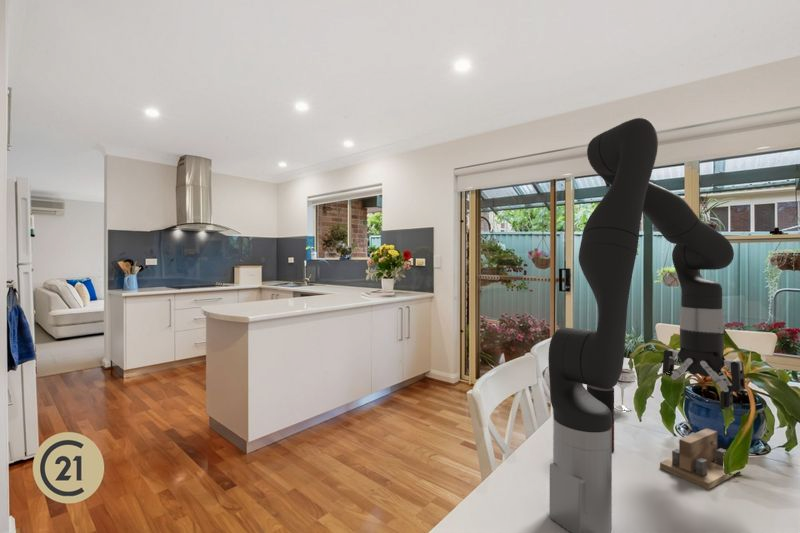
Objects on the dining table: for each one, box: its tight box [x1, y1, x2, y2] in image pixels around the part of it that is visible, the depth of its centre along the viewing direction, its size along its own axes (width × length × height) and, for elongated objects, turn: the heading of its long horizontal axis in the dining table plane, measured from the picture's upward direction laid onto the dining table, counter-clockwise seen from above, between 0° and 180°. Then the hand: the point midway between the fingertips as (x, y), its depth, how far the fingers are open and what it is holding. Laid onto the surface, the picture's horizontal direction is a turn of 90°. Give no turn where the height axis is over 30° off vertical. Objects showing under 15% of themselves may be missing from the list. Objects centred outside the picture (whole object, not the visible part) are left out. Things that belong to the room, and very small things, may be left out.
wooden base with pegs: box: [659, 447, 735, 490], centre depth 82 cm, size 14×9×4 cm, turn 118°
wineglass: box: [615, 367, 636, 410], centre depth 118 cm, size 7×7×12 cm
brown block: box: [678, 427, 718, 472], centre depth 81 cm, size 12×2×6 cm, turn 118°
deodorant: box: [586, 385, 615, 454], centre depth 91 cm, size 6×6×15 cm
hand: (700, 402), depth 81 cm, fingers open, 8 cm apart
